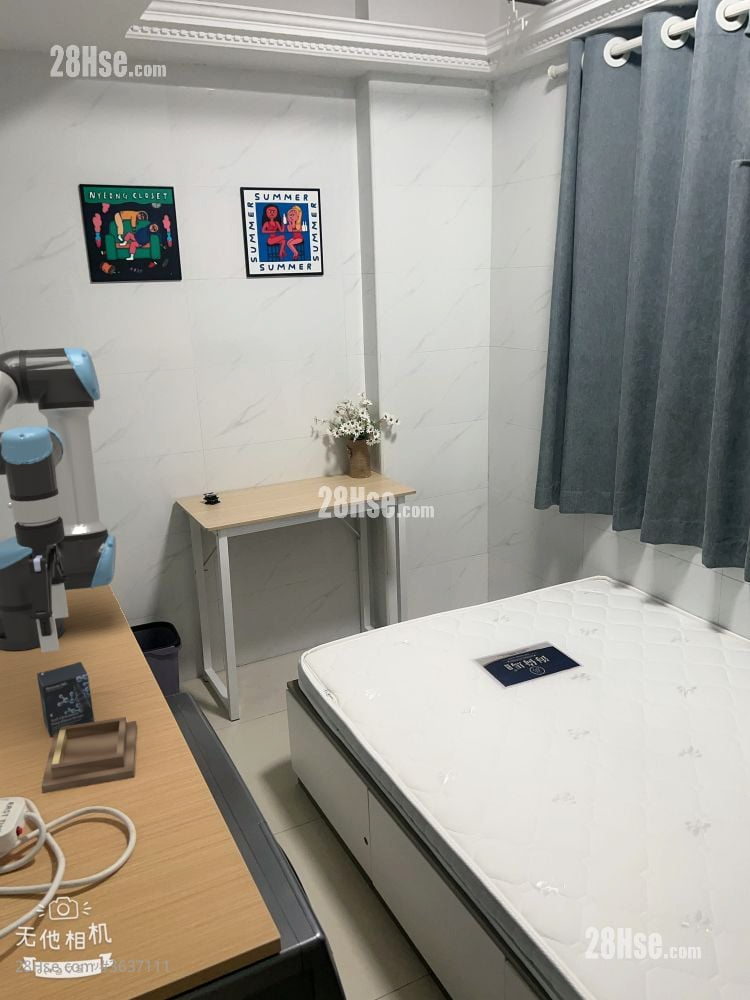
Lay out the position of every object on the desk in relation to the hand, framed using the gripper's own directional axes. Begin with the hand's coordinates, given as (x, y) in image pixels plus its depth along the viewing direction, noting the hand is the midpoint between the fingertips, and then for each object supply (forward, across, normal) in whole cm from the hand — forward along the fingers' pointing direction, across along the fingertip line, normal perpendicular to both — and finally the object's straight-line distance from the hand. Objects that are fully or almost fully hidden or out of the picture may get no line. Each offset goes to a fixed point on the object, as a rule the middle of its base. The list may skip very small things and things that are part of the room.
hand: (55, 633), depth 133 cm
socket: (+18, +12, +5) cm, 22 cm away
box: (+19, 0, 0) cm, 19 cm away
